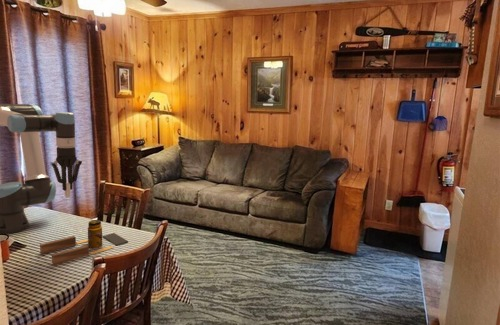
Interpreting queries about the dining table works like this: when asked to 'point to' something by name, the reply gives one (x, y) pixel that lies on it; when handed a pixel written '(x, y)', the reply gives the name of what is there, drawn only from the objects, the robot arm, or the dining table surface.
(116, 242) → the mat
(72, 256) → the parallel wooden rails
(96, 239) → the condiment
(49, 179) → the robot arm
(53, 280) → the dining table surface
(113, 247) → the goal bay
